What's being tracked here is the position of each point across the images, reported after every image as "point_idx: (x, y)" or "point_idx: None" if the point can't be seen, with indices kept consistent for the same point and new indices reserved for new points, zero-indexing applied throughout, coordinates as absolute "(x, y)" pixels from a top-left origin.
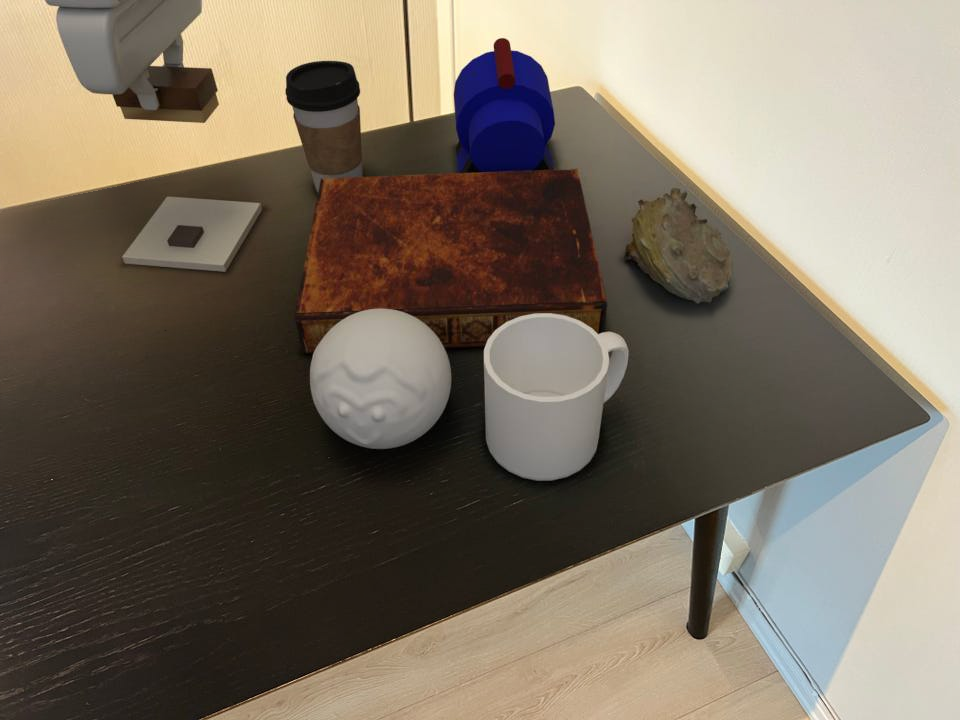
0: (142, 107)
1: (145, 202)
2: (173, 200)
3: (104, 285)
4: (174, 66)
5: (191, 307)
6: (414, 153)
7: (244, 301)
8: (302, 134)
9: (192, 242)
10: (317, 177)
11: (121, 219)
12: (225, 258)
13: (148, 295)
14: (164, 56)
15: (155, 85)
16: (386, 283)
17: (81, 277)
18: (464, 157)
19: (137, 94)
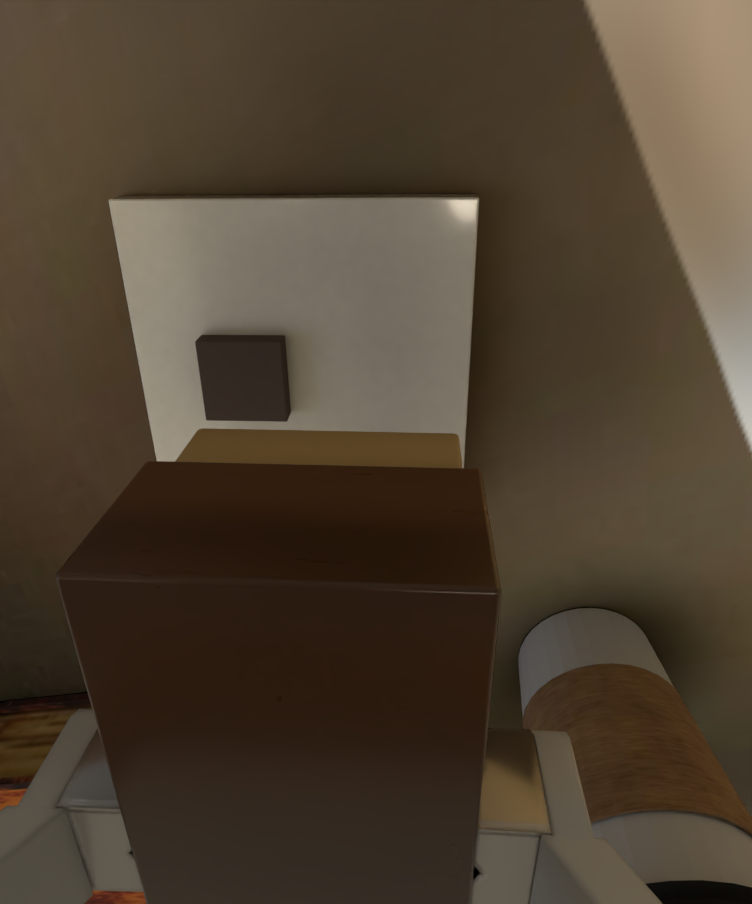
0: (75, 713)
1: (477, 85)
2: (452, 236)
3: (7, 179)
4: (489, 898)
5: (26, 465)
6: (739, 775)
7: None
8: None
9: (209, 419)
10: (536, 677)
11: (354, 37)
12: None
13: (22, 339)
14: (579, 894)
15: (148, 887)
16: (94, 894)
17: (10, 68)
18: None
19: (24, 799)
